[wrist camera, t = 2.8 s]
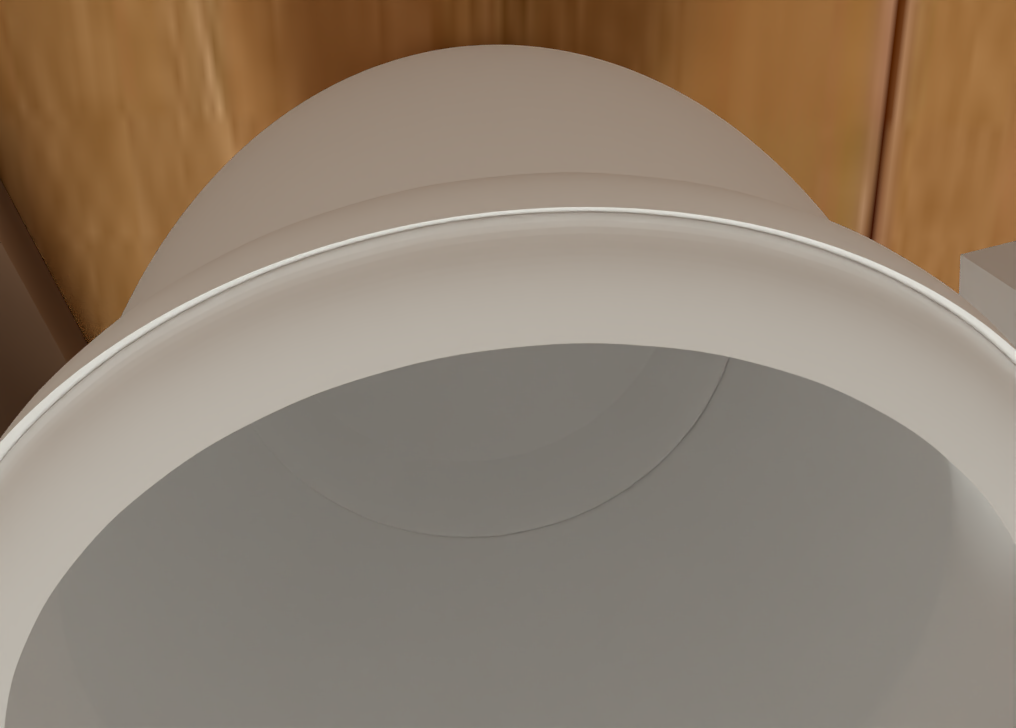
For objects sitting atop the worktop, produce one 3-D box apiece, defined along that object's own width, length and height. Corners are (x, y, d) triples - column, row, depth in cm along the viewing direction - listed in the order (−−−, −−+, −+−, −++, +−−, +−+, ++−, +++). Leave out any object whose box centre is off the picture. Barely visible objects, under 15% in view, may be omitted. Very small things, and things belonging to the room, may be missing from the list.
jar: (516, 477, 24) (615, 1164, 11) (173, 288, 21) (-295, 950, 7) (774, 170, 20) (1399, 637, 7) (409, -119, 17) (318, -244, 4)
